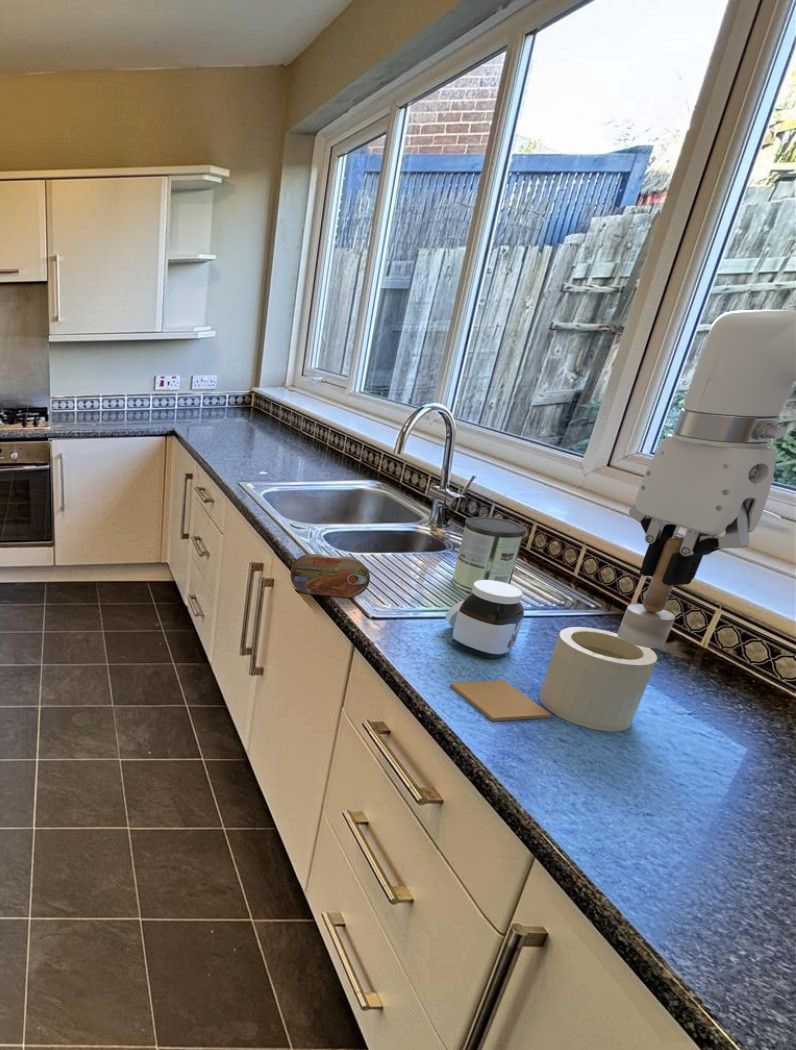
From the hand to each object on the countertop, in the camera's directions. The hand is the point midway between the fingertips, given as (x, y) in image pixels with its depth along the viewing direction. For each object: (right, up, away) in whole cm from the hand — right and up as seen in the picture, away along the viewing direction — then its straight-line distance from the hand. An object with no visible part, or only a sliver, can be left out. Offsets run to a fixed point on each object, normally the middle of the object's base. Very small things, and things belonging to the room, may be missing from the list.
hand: (664, 578), depth 75 cm
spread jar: (+1, -13, +35) cm, 38 cm away
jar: (+5, -20, +17) cm, 27 cm away
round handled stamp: (0, -8, +3) cm, 9 cm away
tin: (-17, -6, +55) cm, 57 cm away
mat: (-7, -20, +19) cm, 28 cm away
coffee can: (+17, -5, +57) cm, 60 cm away
